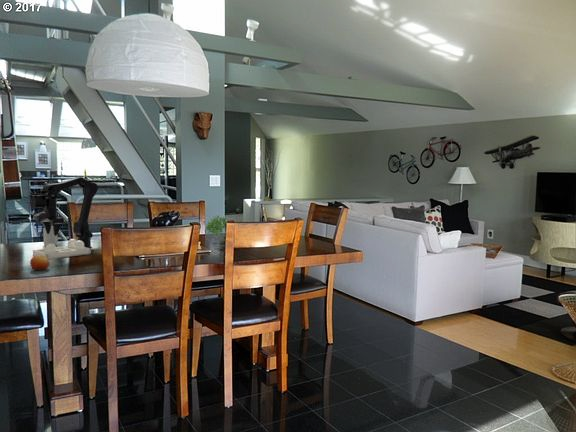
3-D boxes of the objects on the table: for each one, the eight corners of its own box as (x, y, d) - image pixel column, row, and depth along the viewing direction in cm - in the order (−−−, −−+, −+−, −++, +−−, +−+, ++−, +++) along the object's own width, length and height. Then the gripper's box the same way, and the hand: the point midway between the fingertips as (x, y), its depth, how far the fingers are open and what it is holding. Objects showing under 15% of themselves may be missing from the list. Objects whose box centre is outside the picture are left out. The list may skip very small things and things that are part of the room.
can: (51, 246, 275) (51, 226, 274) (40, 245, 276) (40, 226, 275) (60, 244, 282) (59, 225, 281) (49, 243, 284) (49, 224, 283)
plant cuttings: (228, 248, 319) (203, 229, 317) (243, 229, 318) (218, 210, 316) (223, 258, 284) (194, 236, 282) (240, 237, 283) (211, 215, 281)
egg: (53, 255, 246) (53, 242, 245) (57, 256, 242) (57, 243, 242) (43, 256, 242) (43, 243, 241) (48, 257, 239) (47, 244, 238)
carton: (76, 250, 265) (76, 237, 264) (90, 253, 255) (90, 240, 254) (33, 255, 246) (32, 241, 246) (46, 259, 236) (45, 245, 235)
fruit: (31, 265, 216) (39, 250, 216) (46, 273, 217) (54, 259, 217) (22, 268, 208) (31, 253, 208) (38, 277, 209) (47, 262, 209)
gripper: (28, 206, 253) (29, 234, 255) (43, 208, 241) (44, 238, 243) (49, 205, 262) (50, 232, 263) (64, 207, 250) (65, 236, 251)
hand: (51, 234), depth 255 cm, fingers open, 9 cm apart
